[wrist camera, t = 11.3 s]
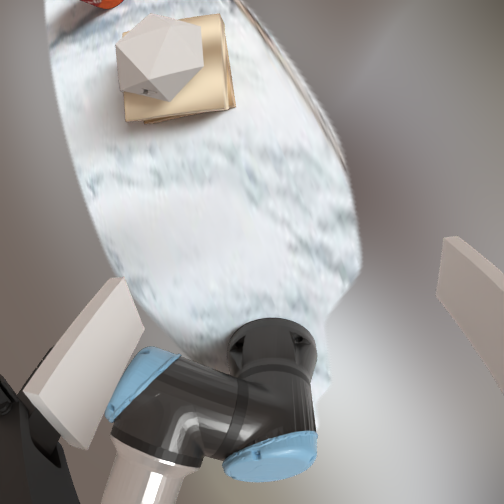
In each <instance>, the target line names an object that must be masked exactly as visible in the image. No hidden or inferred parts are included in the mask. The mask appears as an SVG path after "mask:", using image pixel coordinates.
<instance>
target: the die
mask: <svg viewBox="0 0 504 504" xmlns="http://www.w3.org/2000/svg"><path fill="white" fill-rule="evenodd" d="M115 45H116V57H117V67H118V77H119V85H120V91H125V92H130V93H134V94H139V95H143V96H147V97H152V98H156V99H160V100H164V101H167V102H171V100H172V99H173V98H174V97H175V96H176V95H177V94H178V93H179V92H180V91H181V89H182V88H183V87H184V86H185V85H186V84H187V83H188V82H189V81H190V80H191V79H192V78H193V77H194V76H195V75H196V74H197V73H198V72H199V71H200V70H201V69H202V68H203V67H204V61H203V49H202V36H201V26H198V25H194V24H191V23H187V22H184V21H180V20H176V19H172V18H169V17H164V16H160V15H156V14H151V13H150V14H149V15H148V16H147V17H146V18H144V19H143V20H142V21H141V22H140V23H138V24H137V25H136V26H135V27H134V28H133V29H132V30H130V31H129V32H128V33H127V34H126V35H125V36H124V37H123V38H122V39H121V40H119V41H118V42H117V43H116V44H115Z"/></svg>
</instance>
